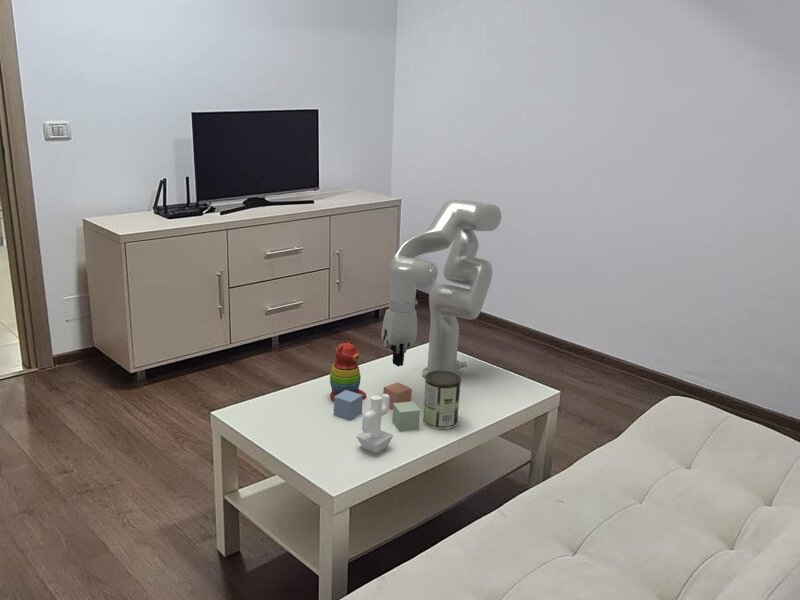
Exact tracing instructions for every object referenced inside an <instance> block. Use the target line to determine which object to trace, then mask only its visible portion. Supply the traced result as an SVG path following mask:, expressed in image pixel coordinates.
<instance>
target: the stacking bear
mask: <svg viewBox="0 0 800 600" xmlns="http://www.w3.org/2000/svg"><path fill="white" fill-rule="evenodd" d="M334 351H335V352H334V353H335V355H334V356H335V359H336V360H335V361H334V363H333V364H332V366H331V371H330V373H329V374H330V375H329V385H330V388H331V391H330V395H329V398H330V400H331V401H332V402H333V403H334V396H336V395H338V394H340V393H341V392H343V391H345V390H348V391H351V392H355V393H358V394H361V395H363V400H362V401H364V400H365V399H367V393H366V392H365V391H363V390H362V389H360V384H361V378H362V377H361V371H360V367H359V363H358V362H357V361H358V360H359V357H360V352H359V351H358V348H357V347H356V346H355V344H353V342H352V341H348V342H343V343H340V344H339V345H337V346H336V349H335V350H334Z"/></svg>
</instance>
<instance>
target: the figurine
mask: <svg viewBox="0 0 800 600" xmlns="http://www.w3.org/2000/svg"><path fill="white" fill-rule="evenodd" d="M389 402H390V397H389V395H387V394H382V395H381V396H380V395H373V396H371V397H370V410H368V411H366V412H365V413H364V414H363V416H362V421H361V422H362V423H361V426H362V427H361V431H362V432H361V433H358V434H357V435H356V438H357V441H358V442H359V443H360V445H361V447H362V448H363V449H365V451H369V452H372V453H374V454H377V453H379V452H381V451H382V450H384V449H385V448H386V449H387V446H388V444H389V443H390V442H391V441H392V439H393V437H394V434H392V433H389V432H387V431H385V430H383V429H381V425H382V417H383V416H385V415H386V414H388V413H389V411H390V408H389Z"/></svg>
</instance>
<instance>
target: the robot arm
mask: <svg viewBox="0 0 800 600" xmlns="http://www.w3.org/2000/svg"><path fill="white" fill-rule="evenodd" d="M501 220H502V211H501V209H500V207H499V206H497V205H496V204H491V203H485V202H478V201H473V200H465V199H464V200H461V199H460V200H459V199H451V200H448V201H446V202H445V203H444V204H443V205H442V206H441V208H440V210H439V211H438V213H437V214H436V216H435V217H434V218H433V220H432V222H431V223H430V225H429V227H428V228H427V230H425V231H423V232H421V233H418V234H417V235H415V236H413V237H411V238H410V239H408V240H406V241H405V242H403V243H402V245H400V247H399V248H398V250H397V252H395V255H394V256H393V258H392V260H391V262H390V266H389V275H390V283H389V284H390V285H389V301H388V308H387V309H386V310H385V313H384V316H383V322H382V329H381V335H380V336H381V339H380V340H381V341H383V345H382V347H383V348H384V349H386V350H387V349H388V350H391V352H392V363H393V365H395V366H397V367H402V366H404V362H405V353H407V349H409V347H411V346H413V345H415V344H416V339H417V337H418V336H417V335H418V316H417V310H416V305H418V304H419V302H418V300H417V299H416V297H417V296H416V294H417V288H422V287H428V286H430V285H432V284H433V283H434V282H435V281H436V279H437V277H438V268H437V266H436V265H435V264H434V263H433V262H431V261H429V260H423V259H420V258H417V257H419V256H422V255H425V254H428V253H435V252H440V251H443V250H446V249H448V248H450V251H449V253H448V256H447V259H446V262H445V264H444V269H443V277H444V279H445V280H446V281H447V282H450V283H452V284H458V285H461V286H467V287H470V288H464V287H460V286H456V285H451V284H445V283H441V284H436V285H434V286H433V287H432V288H431V289H430V292H429V295H428V297H429V298H428V303H429V304H428V305H429V311H430V323H429V324H430V325H429V336H428V337H429V341H428V353H427V355H428V356H427V367H424V368H423V369H422V376H423V377H424V378H425V376H426V374H427V373H429V372H432V371H449V372H453V373H456V374H458V375H459V376H460V377H461V372H460V371H459V370H460V369H461V368H462V369H463V368H467V367H468V362H467V361H461V362H460V361H459V360H457V357H458V349H459V348H458V345H459V333H460V325H459V322H458V319H457V318H459V319H460V318H461V319H464V320H471V321H473V320H476V319H477V318H478V317H479V315H480V313H481V311H482V309H483V307H484V303H485V300H486V297H487V294H488V291H489V288H490V286H491V283H492V282H491V281H492V279H493V277H492V276H493V266H492V264H491V263H490V262H489V261H488V260H487V259H483V258H479V257H478V258H477V257H476V256H477V254H478V249H479V240H478V236H477V235H476V233H475V232H476V231H477V232H493V231H494V230H497V228H499V226H500V223H501ZM450 246H451V247H450Z"/></svg>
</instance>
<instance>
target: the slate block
mask: <svg viewBox="0 0 800 600" xmlns="http://www.w3.org/2000/svg"><path fill="white" fill-rule="evenodd" d="M363 401H364V400H363V395H361V394H358V393H355V392H351V391H348V390H345V391H343V392H341V393H340V394H338V395H336V396H334V402H333V416H335V417H338V418H341V419H343V420H347V421H352V420H354V419H355V418H357V417H359V416H360V415H362V414H363Z"/></svg>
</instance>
